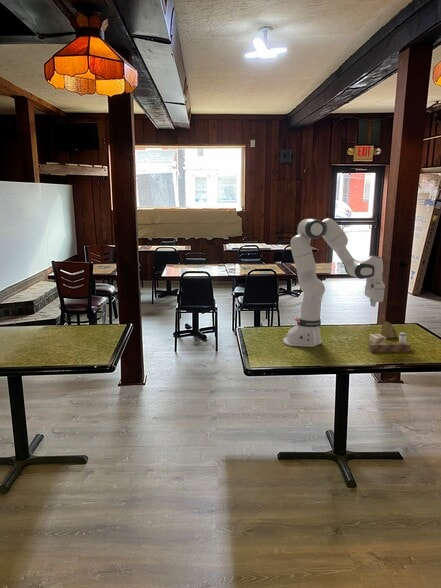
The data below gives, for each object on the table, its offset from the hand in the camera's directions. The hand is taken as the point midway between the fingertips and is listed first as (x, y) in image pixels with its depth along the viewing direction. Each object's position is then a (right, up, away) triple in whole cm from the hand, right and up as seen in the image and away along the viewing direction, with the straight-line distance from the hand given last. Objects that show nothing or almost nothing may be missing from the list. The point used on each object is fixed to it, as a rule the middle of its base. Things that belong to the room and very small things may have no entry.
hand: (372, 306), depth 256 cm
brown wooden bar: (+3, -24, -18) cm, 30 cm away
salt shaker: (+12, -23, -11) cm, 28 cm away
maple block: (0, -22, -6) cm, 23 cm away
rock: (+12, -19, +6) cm, 24 cm away
